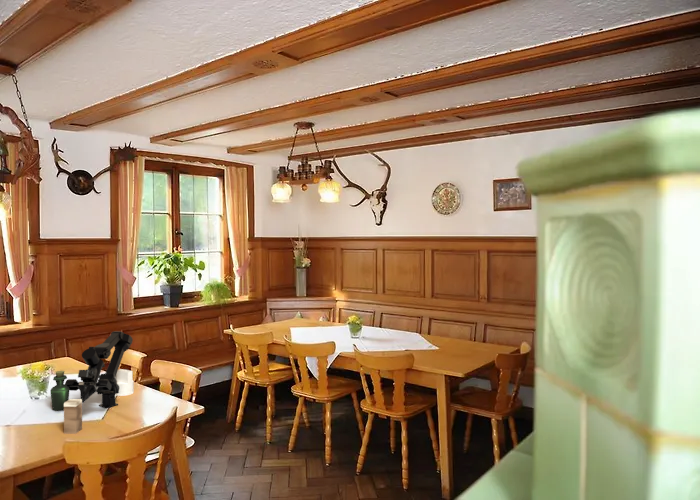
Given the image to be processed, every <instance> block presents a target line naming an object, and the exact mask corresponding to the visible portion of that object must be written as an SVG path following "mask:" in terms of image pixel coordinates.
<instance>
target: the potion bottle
mask: <svg viewBox="0 0 700 500" xmlns="http://www.w3.org/2000/svg"><path fill="white" fill-rule="evenodd" d="M52 380H53V381H55V383H56V385H54V386H52V387H51V389H50V399H51V408H52V409H51V410H52V411H54V412H62V411H64V403H65V402H66V401H68V400H70V399H69V398H70V390H69V389H68V388H67V387H66V385H65V381H66V380H68V377H67V375H65V370H57V371H55V375H54V376H53V379H52Z"/></svg>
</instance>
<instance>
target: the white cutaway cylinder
mask: <svg viewBox="0 0 700 500" xmlns="http://www.w3.org/2000/svg"><path fill="white" fill-rule="evenodd" d="M116 380H117V384H118V386H119V393H117V394H115V396H118V397H123V396H126V397H127V396H130V395H132V394H134V392H135V391H134V390H135V381H134V380H133V370H129V369H122V368H120V369H119V368H118V371H117V374H116Z"/></svg>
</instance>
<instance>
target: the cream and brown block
mask: <svg viewBox="0 0 700 500" xmlns="http://www.w3.org/2000/svg"><path fill="white" fill-rule="evenodd" d="M82 430H83V403H82V399H81V398H80V399H79V398H78V399H77V398H74V399H73V398H70V399H69V400H68V401H66V402H65V403H64V410H63V434H64V435H65V434H70V435H71V434H72V435H74V434H75V435H76V434H77V433H79V432H81V431H82Z"/></svg>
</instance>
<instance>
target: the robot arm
mask: <svg viewBox="0 0 700 500" xmlns="http://www.w3.org/2000/svg"><path fill="white" fill-rule="evenodd" d="M132 344H133V337H132V336H131V335H129V334H127V333H124V332H123V331H120V330H119V331H118V330H116V331H112V332H111V333H110V335H108V337H107V338H106V339H105V340H104V341H103V342H102V343H100V344H99V343H98V344H97V345H95V346H89V347H88V348H86V349H84V350H83V352H81V357H82V359H83V360H84V362H85V364H86V365H87V366H88V367H87V369H79V370H78V375H77V378H79V379H80V381H78V380H77V378H67V379H66V380H65V381H64V384H65V385H66V387H67V388H68V389H69V391H72V392H73V391H78V390H79V391H80V399H82V404H83V403H85V402H86V401H87V400H88V399H90V397H91V396H92V395H93V394H95V393H97V395H101V404H98V406H99V407H101V408H103V409H108V408H112V407H116V406H118V405H119V403H117V402H116V395H115V394H117V393H119V386H118V384H117V380H116V374H117V371H118V370H119V367H120V366H121V362H122V359H123V358H124V355H125V352H126V351H128V350H129V349H130V348H131V345H132ZM113 348H114V350H113V353H112V351H111V350H112V349H113ZM111 354H112V355H111ZM110 356H111V357H110ZM109 357H110V361H109V362H108V365H107V368H106V371H105V372H104V373H101V372H102V369H103V368H105V362H104V360H108V358H109Z"/></svg>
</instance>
